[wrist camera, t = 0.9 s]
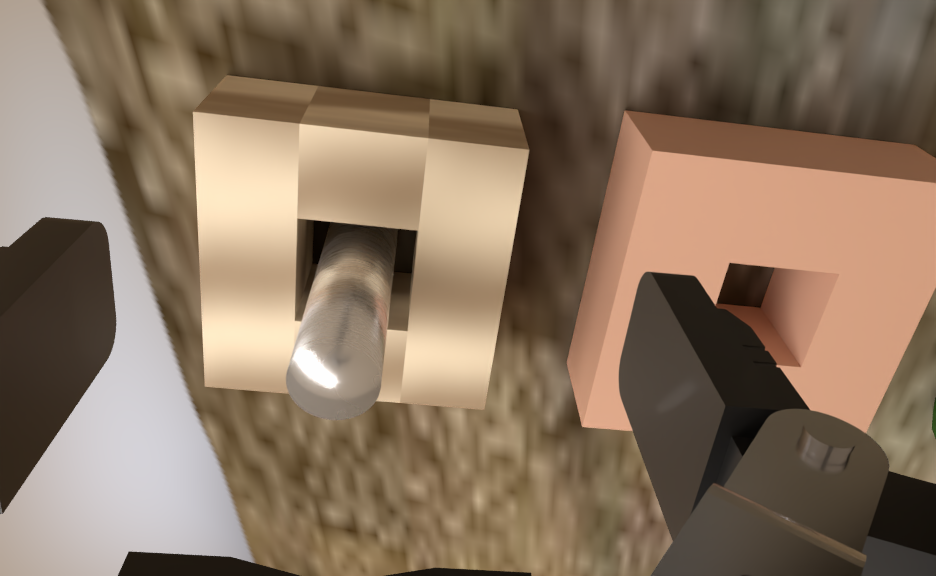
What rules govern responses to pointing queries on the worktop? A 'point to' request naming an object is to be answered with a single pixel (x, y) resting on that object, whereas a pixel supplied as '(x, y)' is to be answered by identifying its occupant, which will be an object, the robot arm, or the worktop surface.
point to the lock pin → (345, 324)
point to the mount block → (363, 203)
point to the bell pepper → (934, 419)
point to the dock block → (765, 252)
